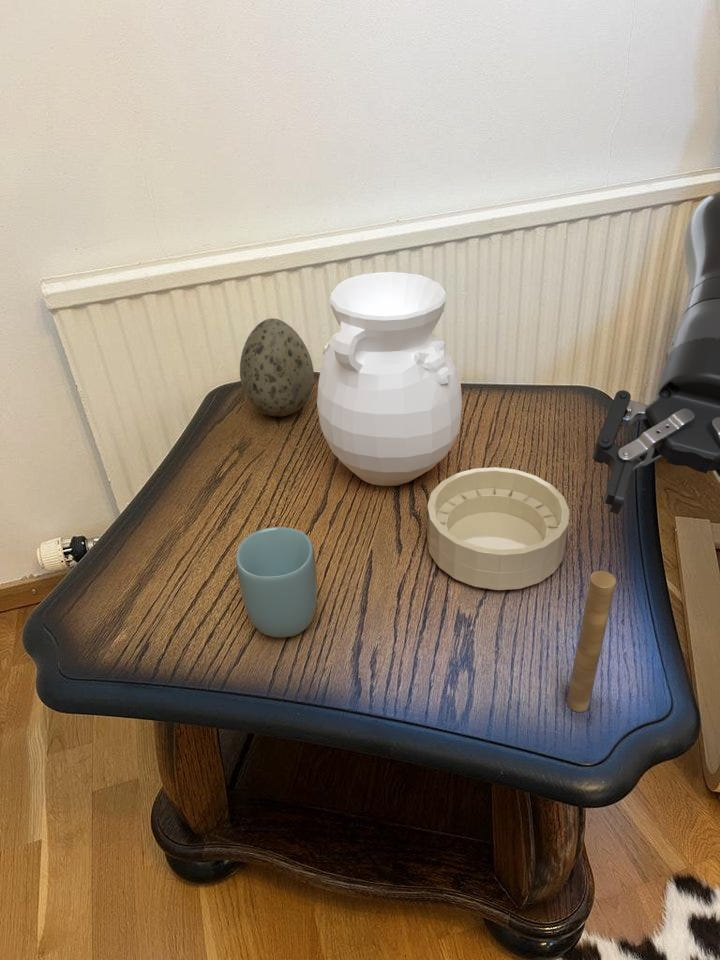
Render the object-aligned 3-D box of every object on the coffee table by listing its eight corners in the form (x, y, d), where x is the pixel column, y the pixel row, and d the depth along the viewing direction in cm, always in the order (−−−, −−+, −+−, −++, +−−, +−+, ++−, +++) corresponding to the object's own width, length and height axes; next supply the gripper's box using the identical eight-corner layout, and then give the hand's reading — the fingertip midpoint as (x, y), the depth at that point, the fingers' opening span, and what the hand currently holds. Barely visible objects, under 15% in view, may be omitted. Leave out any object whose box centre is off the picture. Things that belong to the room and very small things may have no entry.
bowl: (582, 532, 90) (589, 492, 87) (530, 614, 80) (535, 573, 76) (464, 492, 97) (466, 453, 94) (403, 563, 87) (402, 523, 84)
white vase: (402, 528, 92) (401, 340, 77) (294, 474, 102) (274, 299, 87) (486, 458, 103) (499, 282, 89) (381, 416, 113) (377, 251, 99)
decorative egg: (294, 387, 122) (285, 298, 113) (330, 415, 114) (323, 323, 105) (234, 408, 117) (219, 317, 108) (266, 439, 110) (253, 344, 101)
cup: (323, 595, 84) (316, 525, 78) (318, 649, 77) (310, 578, 71) (253, 595, 84) (241, 526, 78) (242, 650, 78) (228, 579, 72)
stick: (592, 700, 71) (619, 575, 62) (584, 716, 70) (611, 590, 60) (571, 691, 72) (595, 567, 62) (563, 706, 71) (586, 581, 61)
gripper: (636, 316, 63) (586, 472, 56) (823, 357, 59) (795, 531, 52) (619, 374, 69) (572, 521, 62) (786, 415, 65) (757, 577, 58)
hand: (673, 525), depth 57 cm, fingers open, 8 cm apart
